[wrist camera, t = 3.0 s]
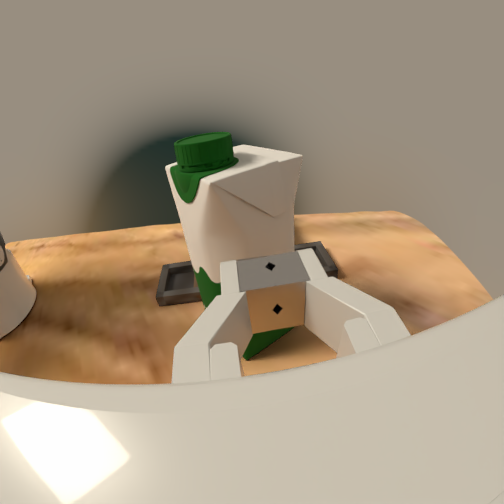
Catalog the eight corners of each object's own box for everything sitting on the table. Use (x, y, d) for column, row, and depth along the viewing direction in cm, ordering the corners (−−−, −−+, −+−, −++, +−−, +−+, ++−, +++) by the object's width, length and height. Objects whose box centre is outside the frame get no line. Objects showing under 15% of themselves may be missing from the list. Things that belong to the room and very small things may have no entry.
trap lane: (159, 306, 33) (144, 268, 30) (173, 239, 47) (165, 208, 44) (336, 278, 34) (340, 238, 31) (301, 219, 48) (301, 188, 45)
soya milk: (199, 321, 30) (151, 143, 19) (260, 286, 35) (242, 121, 24) (244, 372, 24) (201, 150, 13) (311, 323, 29) (315, 126, 18)
